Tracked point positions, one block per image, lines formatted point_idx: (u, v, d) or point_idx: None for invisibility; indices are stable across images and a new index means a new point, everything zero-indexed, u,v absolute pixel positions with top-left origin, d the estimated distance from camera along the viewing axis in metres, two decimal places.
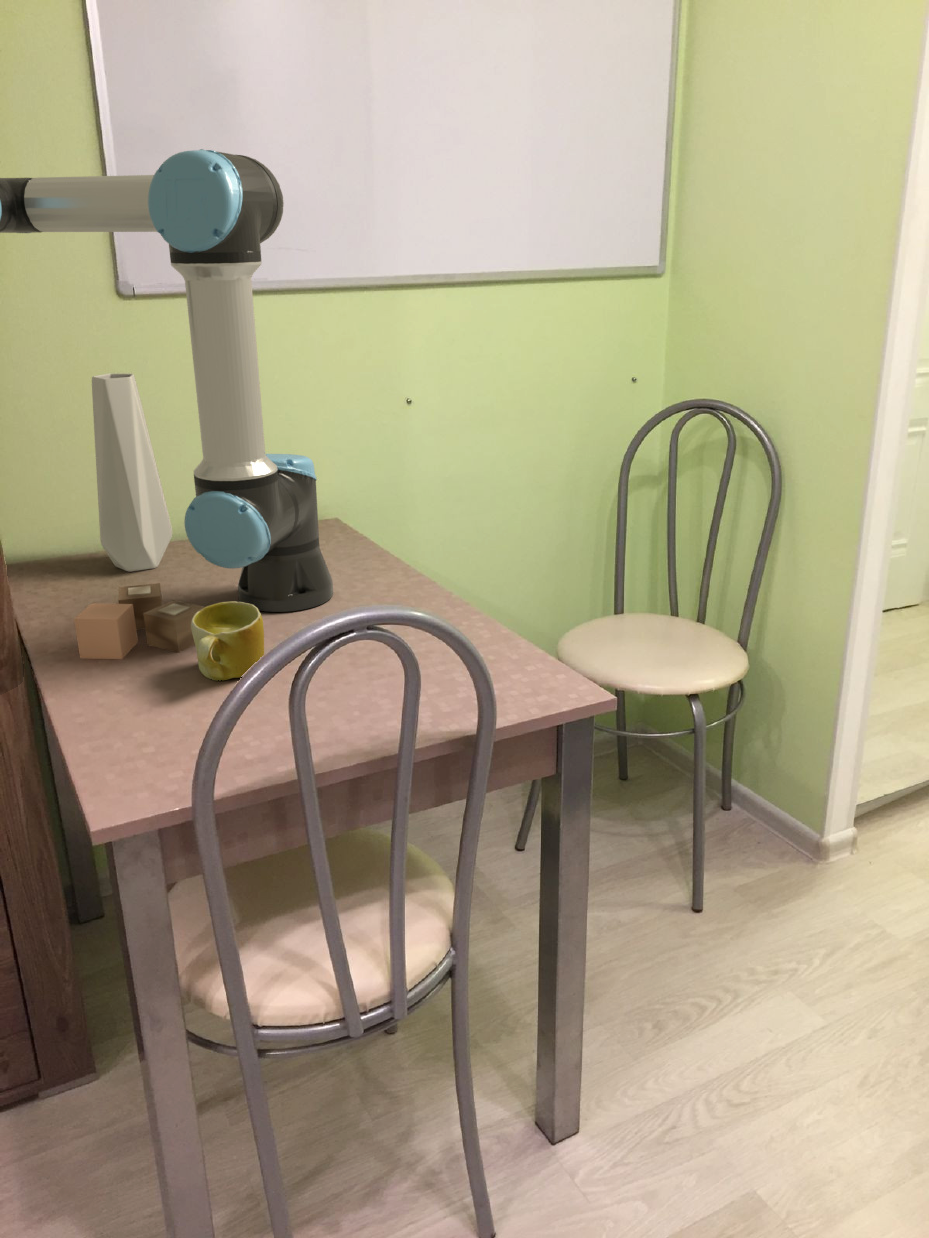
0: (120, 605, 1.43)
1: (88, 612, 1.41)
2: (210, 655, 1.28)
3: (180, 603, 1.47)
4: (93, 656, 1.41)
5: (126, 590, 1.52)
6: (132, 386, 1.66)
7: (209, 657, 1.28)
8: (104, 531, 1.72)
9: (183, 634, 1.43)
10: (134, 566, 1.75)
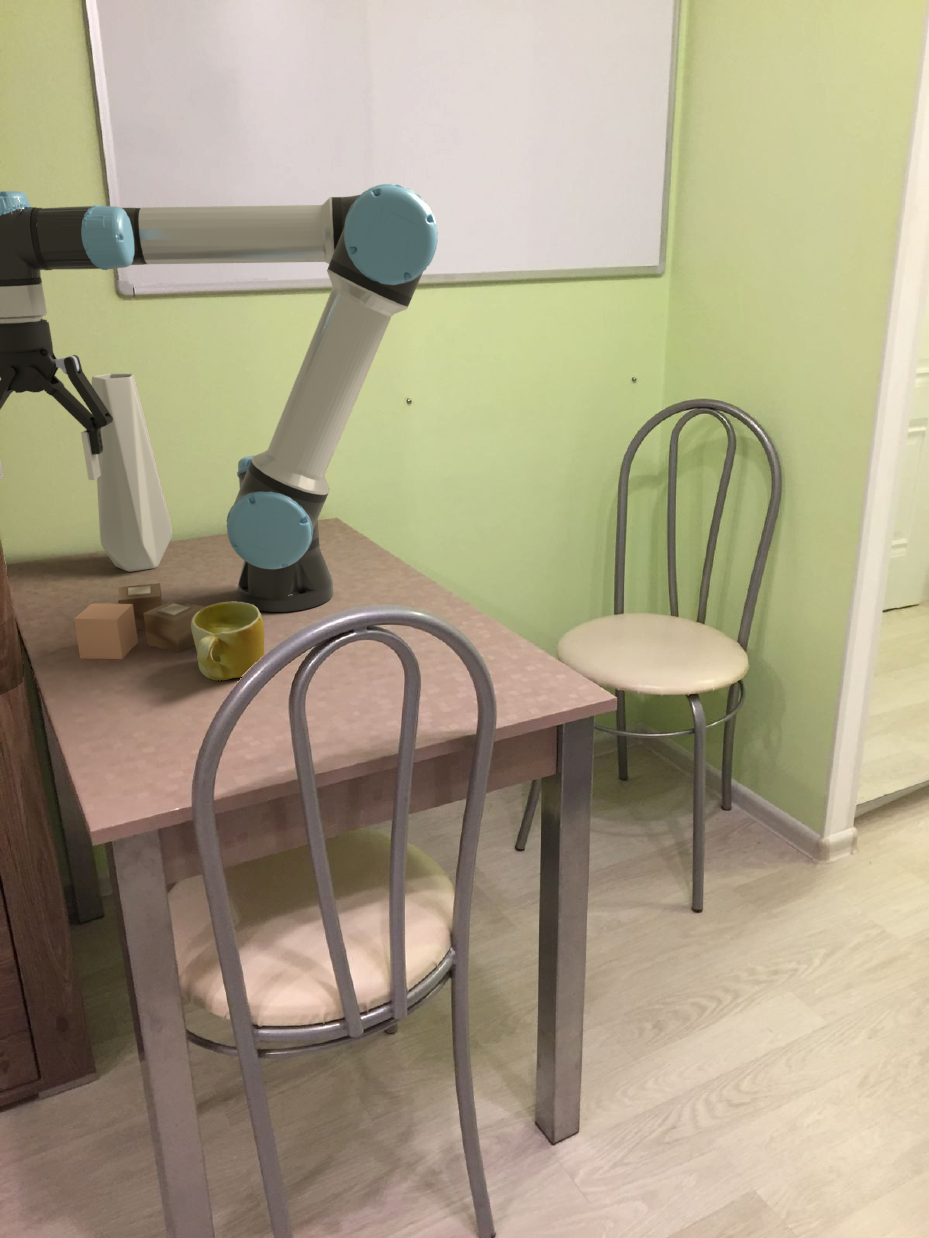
0: (120, 605, 1.43)
1: (88, 612, 1.41)
2: (210, 655, 1.28)
3: (180, 603, 1.47)
4: (93, 656, 1.41)
5: (126, 590, 1.52)
6: (132, 386, 1.66)
7: (209, 657, 1.28)
8: (104, 531, 1.72)
9: (183, 634, 1.43)
10: (134, 566, 1.75)
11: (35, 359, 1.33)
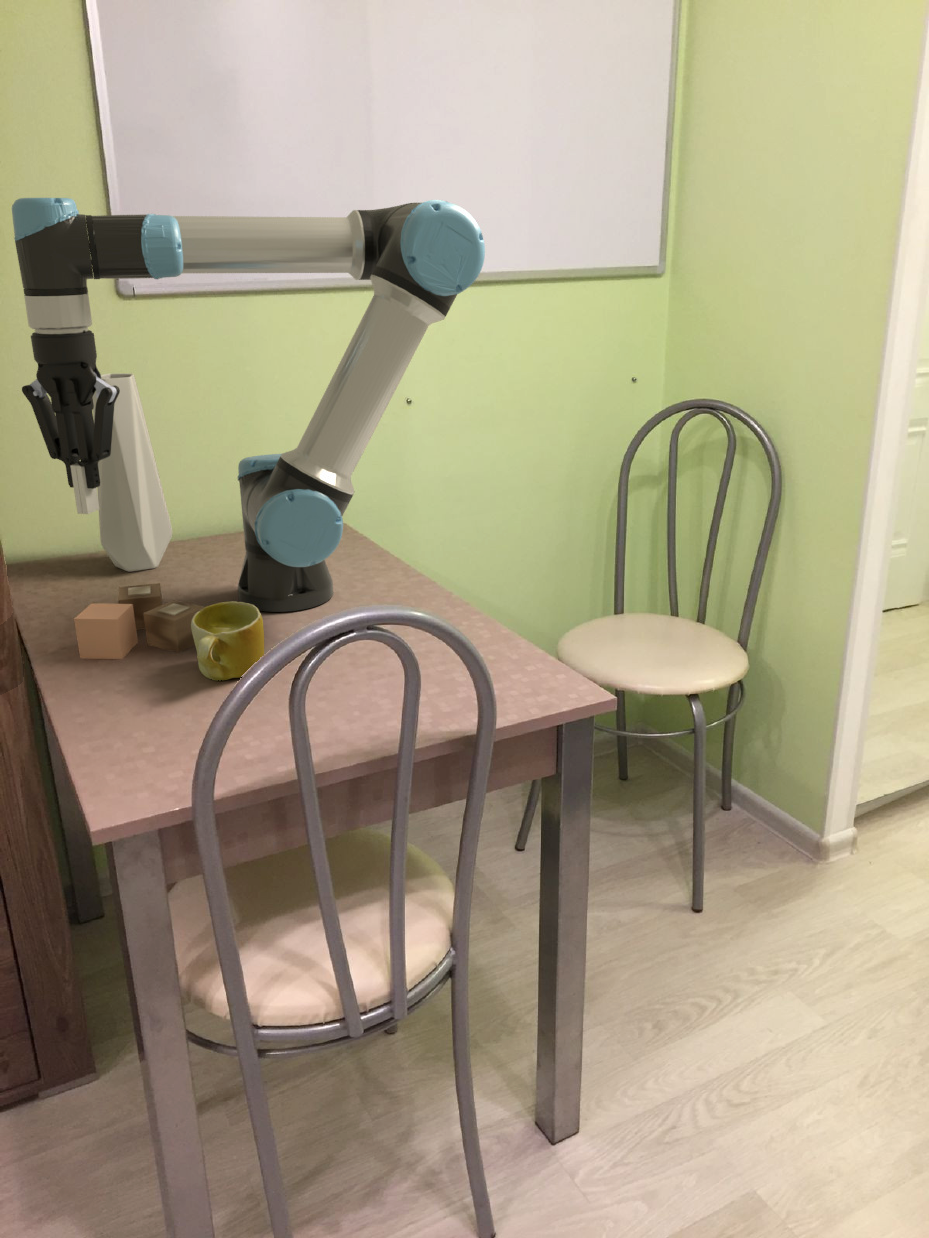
0: (120, 605, 1.43)
1: (88, 612, 1.41)
2: (210, 655, 1.28)
3: (180, 603, 1.47)
4: (93, 656, 1.41)
5: (126, 590, 1.52)
6: (132, 386, 1.66)
7: (209, 657, 1.28)
8: (104, 531, 1.72)
9: (183, 634, 1.43)
10: (134, 566, 1.75)
11: (80, 367, 1.28)
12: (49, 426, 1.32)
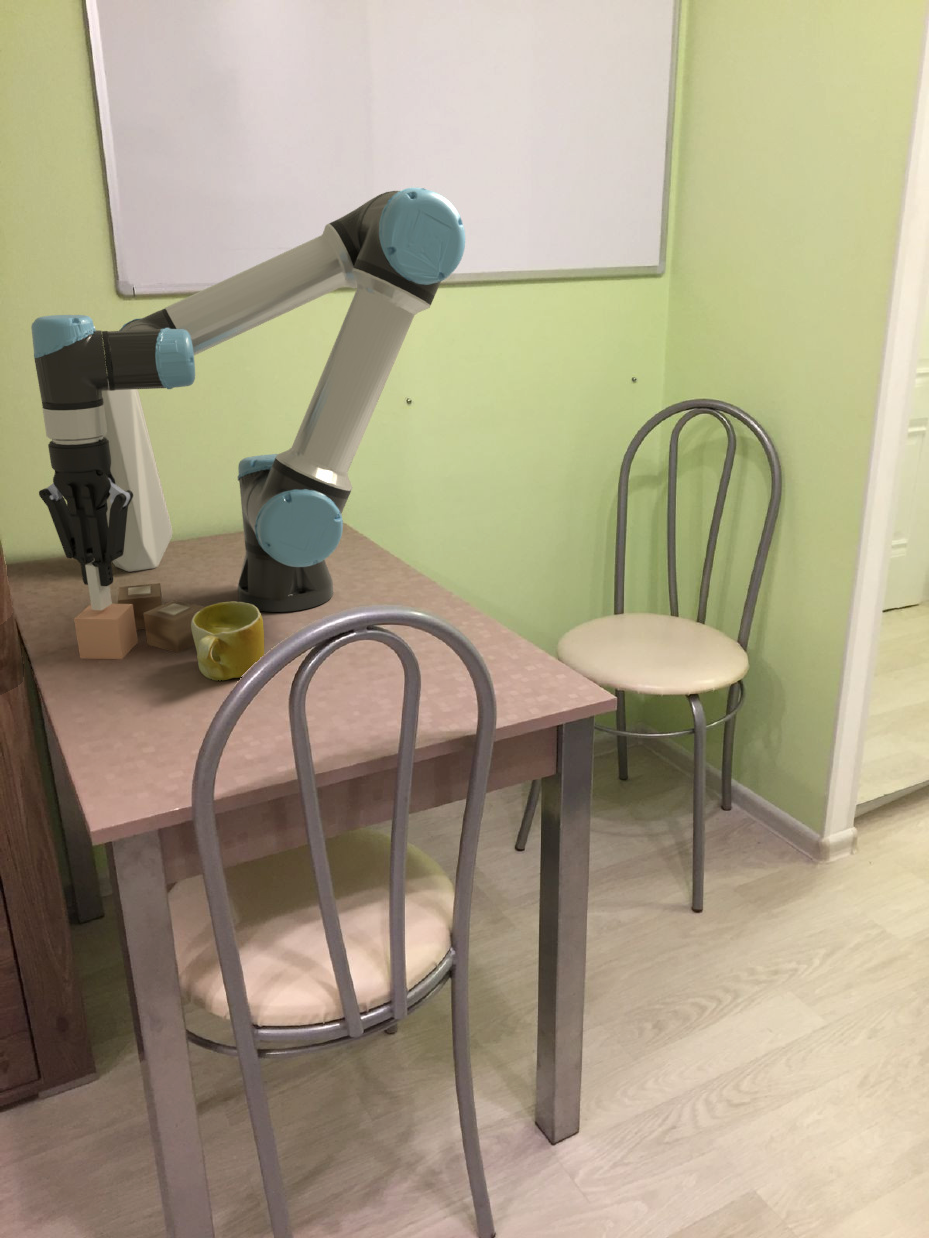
0: (120, 605, 1.43)
1: (88, 612, 1.41)
2: (210, 655, 1.28)
3: (180, 603, 1.47)
4: (93, 656, 1.41)
5: (126, 590, 1.52)
6: None
7: (209, 657, 1.28)
8: None
9: (183, 634, 1.43)
10: (134, 566, 1.75)
11: (96, 474, 1.33)
12: (65, 527, 1.37)
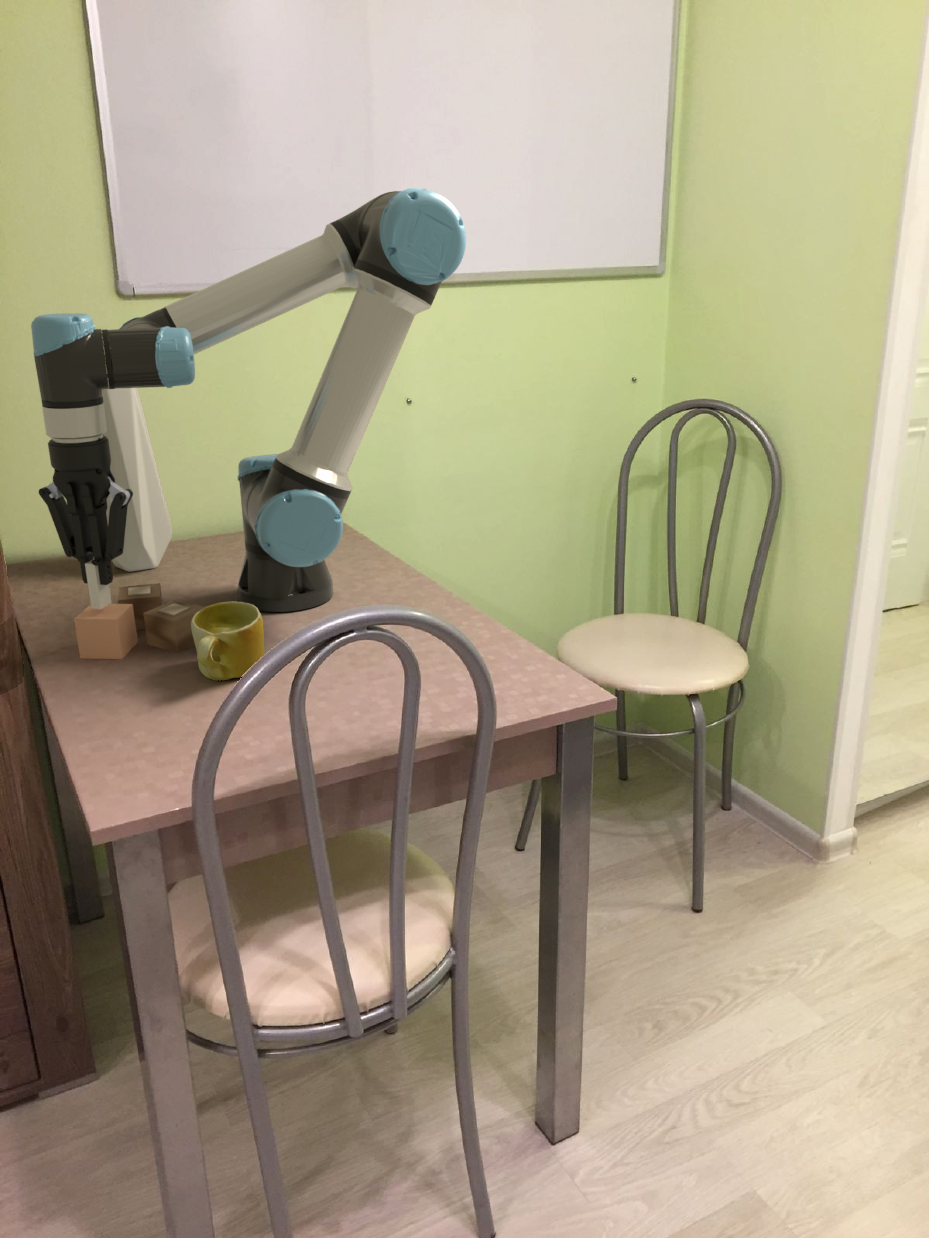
0: (120, 605, 1.43)
1: (88, 612, 1.41)
2: (210, 655, 1.28)
3: (180, 603, 1.47)
4: (93, 656, 1.41)
5: (126, 590, 1.52)
6: None
7: (209, 657, 1.28)
8: None
9: (183, 634, 1.43)
10: (134, 566, 1.75)
11: (95, 473, 1.32)
12: (64, 526, 1.37)
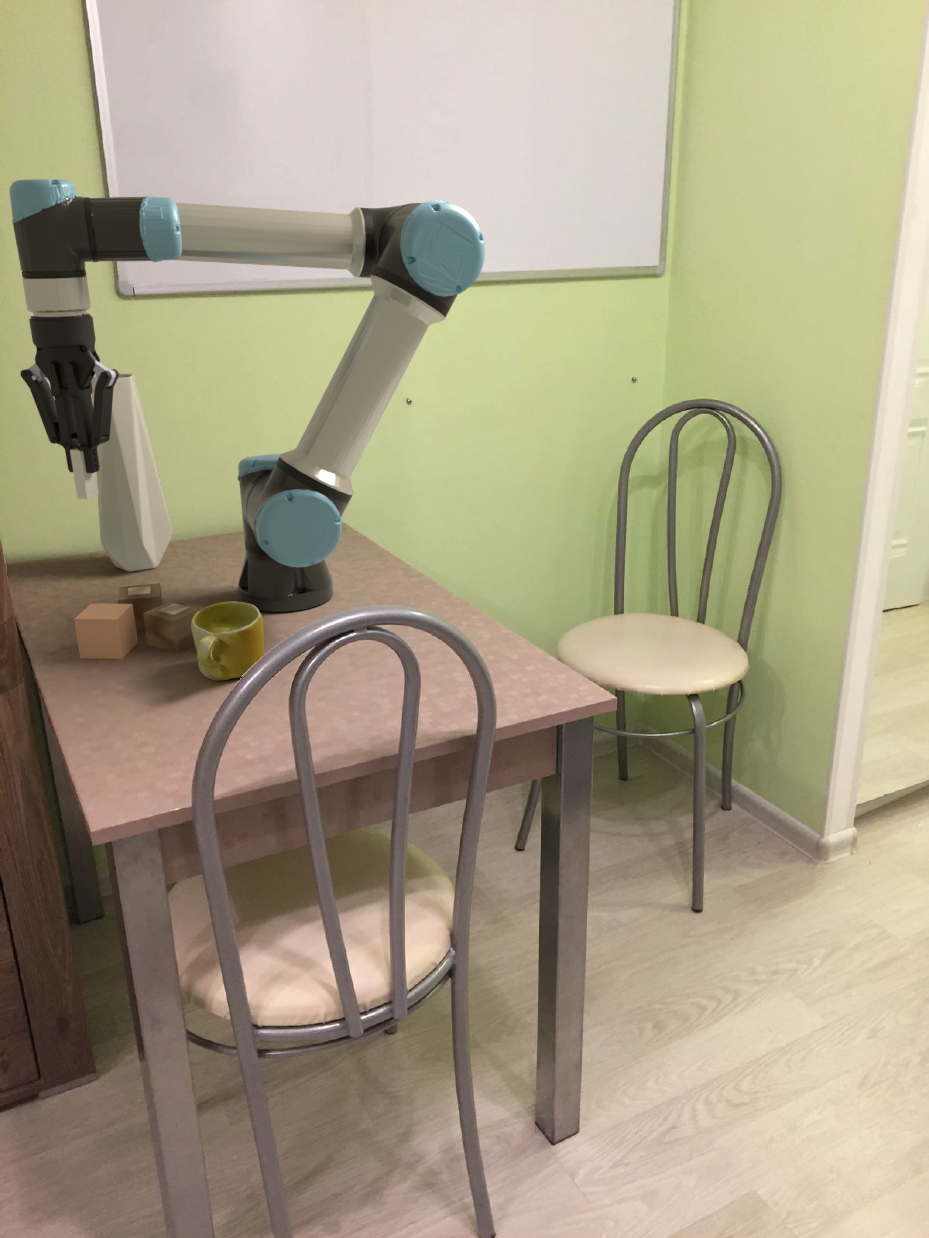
0: (120, 605, 1.43)
1: (88, 612, 1.41)
2: (210, 655, 1.28)
3: (180, 603, 1.47)
4: (93, 656, 1.41)
5: (126, 590, 1.52)
6: (132, 386, 1.66)
7: (209, 657, 1.28)
8: (104, 531, 1.72)
9: (183, 634, 1.43)
10: (134, 566, 1.75)
11: (79, 351, 1.27)
12: (48, 410, 1.31)
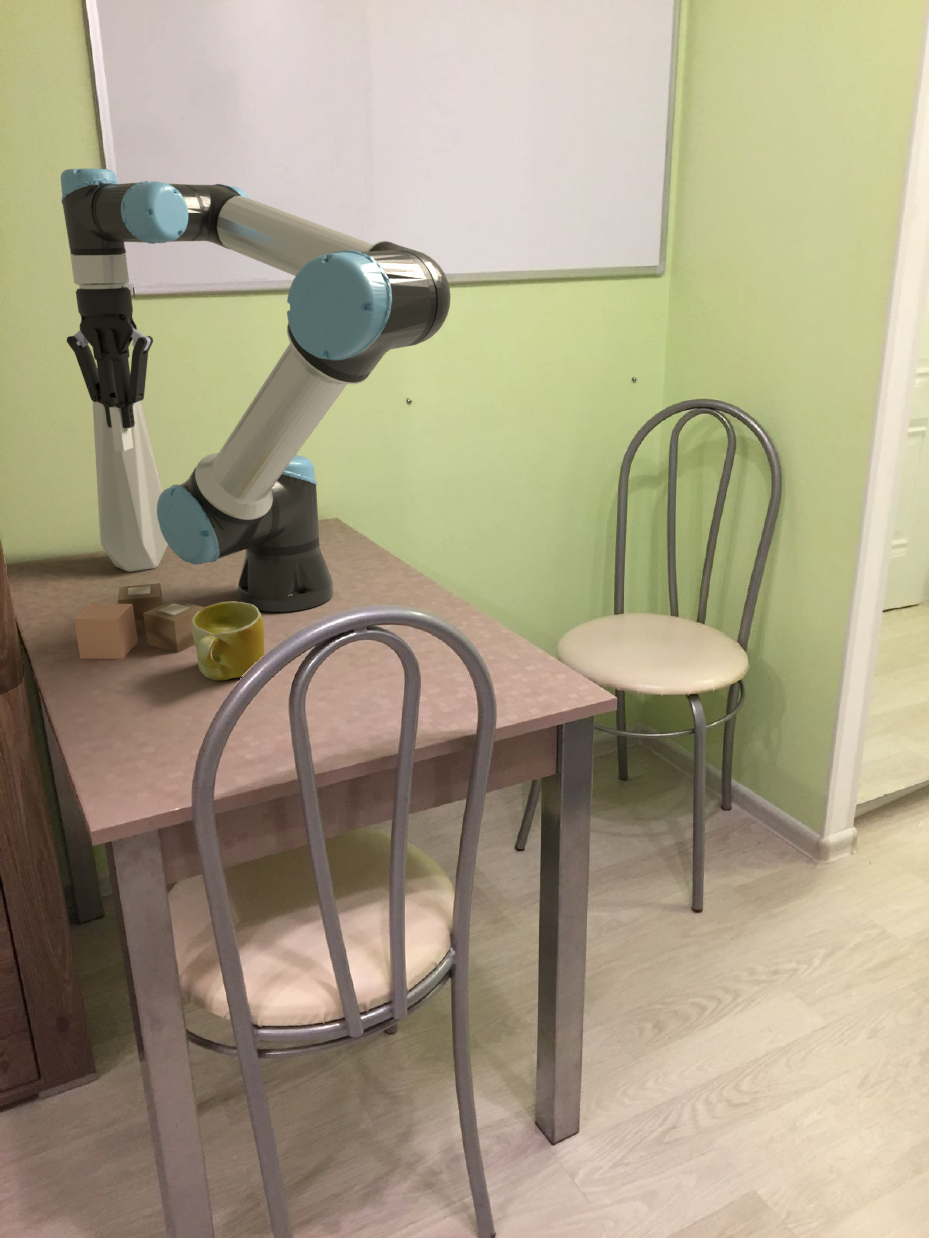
0: (120, 605, 1.43)
1: (88, 612, 1.41)
2: (210, 655, 1.28)
3: (180, 603, 1.47)
4: (93, 656, 1.41)
5: (126, 590, 1.52)
6: None
7: (209, 657, 1.28)
8: (104, 531, 1.72)
9: (183, 634, 1.43)
10: (134, 566, 1.75)
11: (119, 319, 1.45)
12: (90, 372, 1.50)
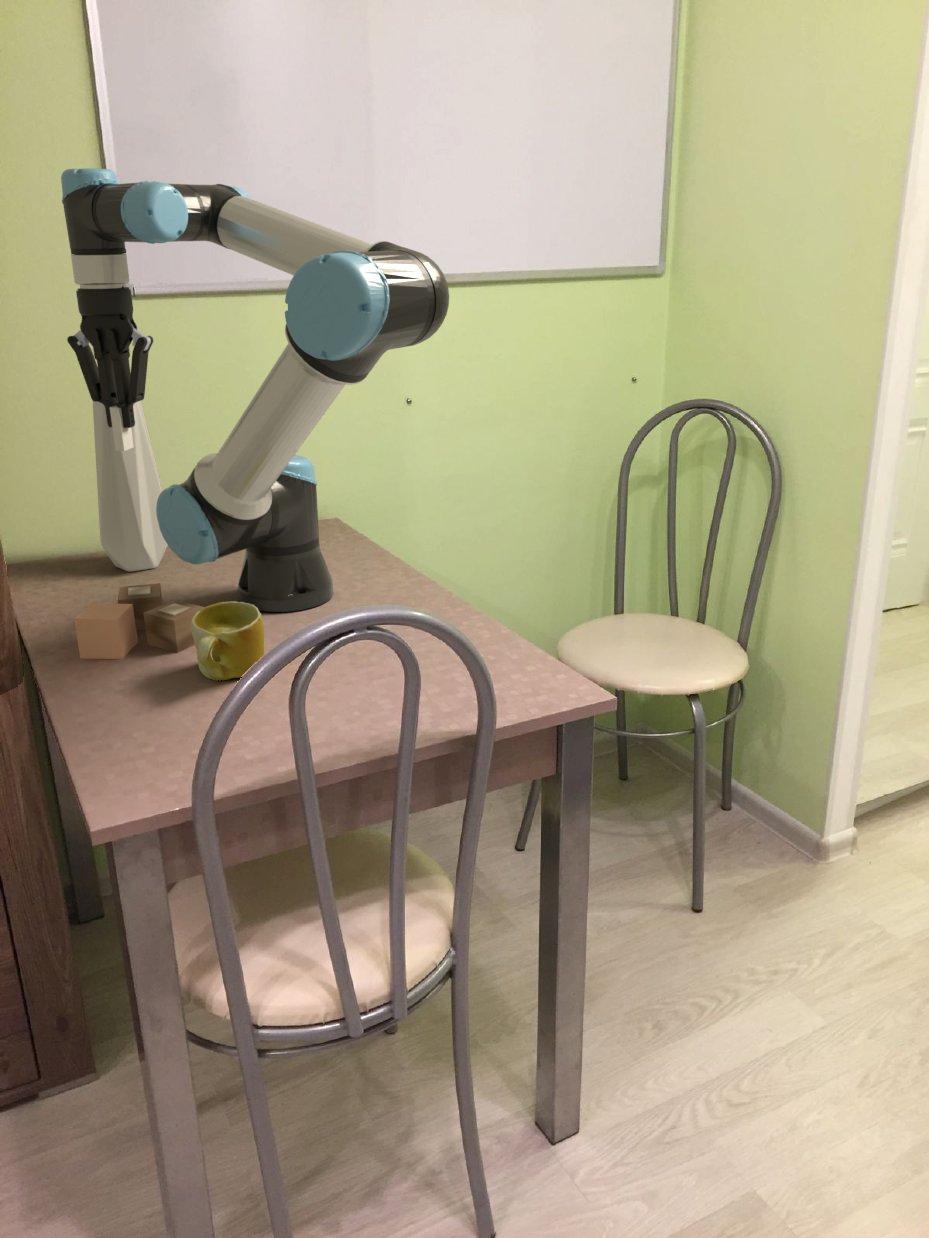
0: (120, 605, 1.43)
1: (88, 612, 1.41)
2: (210, 655, 1.28)
3: (181, 603, 1.47)
4: (93, 656, 1.41)
5: (126, 590, 1.52)
6: None
7: (209, 657, 1.28)
8: (104, 531, 1.72)
9: (183, 634, 1.43)
10: (134, 566, 1.75)
11: (119, 319, 1.45)
12: (91, 372, 1.50)
